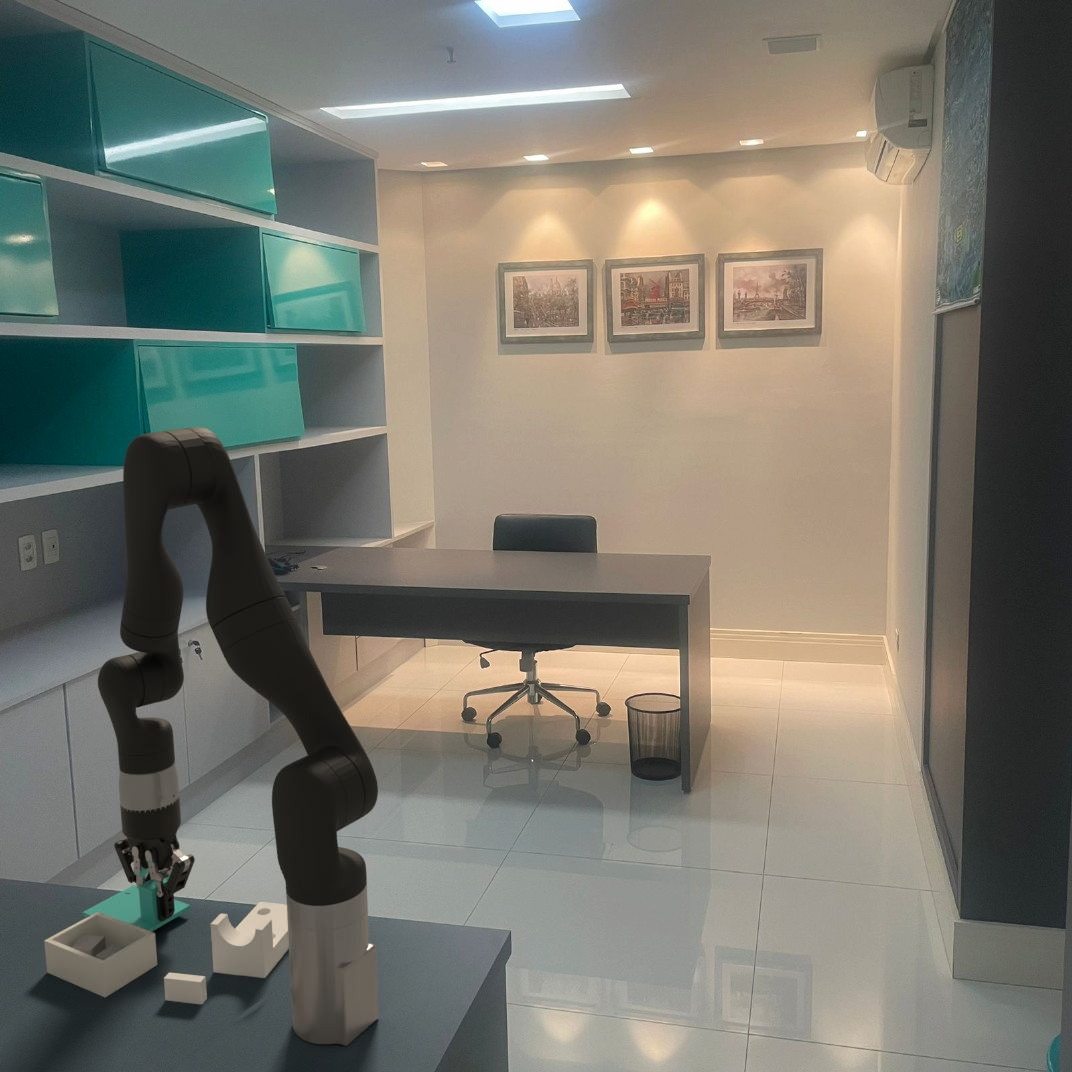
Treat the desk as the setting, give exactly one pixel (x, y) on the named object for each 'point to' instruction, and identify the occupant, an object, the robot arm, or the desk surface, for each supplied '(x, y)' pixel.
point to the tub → (97, 972)
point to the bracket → (250, 941)
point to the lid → (137, 907)
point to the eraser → (185, 988)
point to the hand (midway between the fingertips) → (158, 914)
